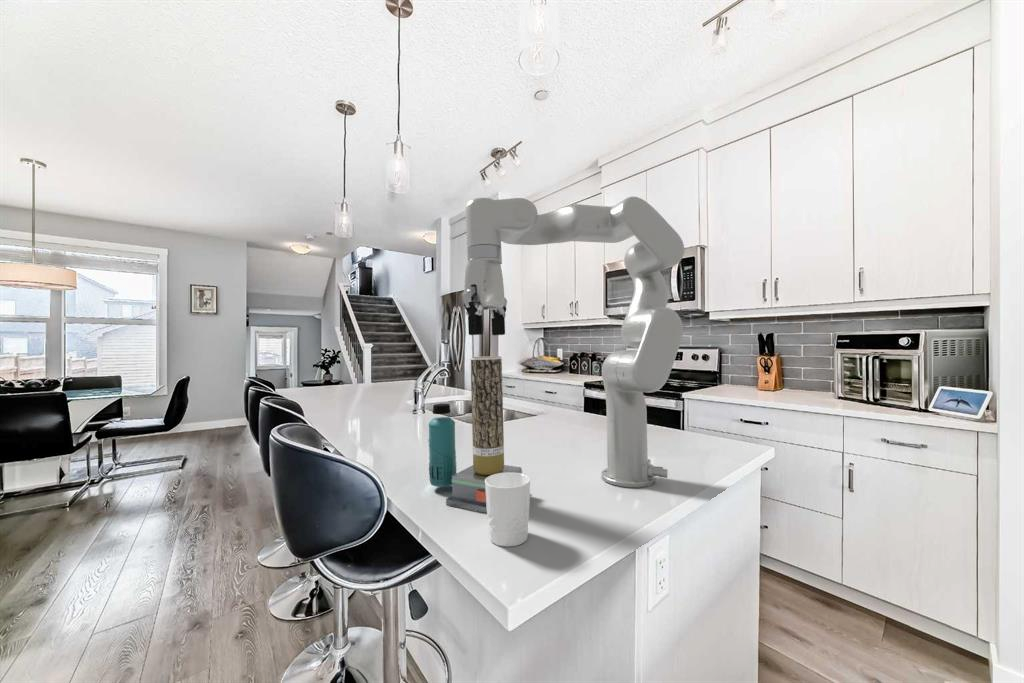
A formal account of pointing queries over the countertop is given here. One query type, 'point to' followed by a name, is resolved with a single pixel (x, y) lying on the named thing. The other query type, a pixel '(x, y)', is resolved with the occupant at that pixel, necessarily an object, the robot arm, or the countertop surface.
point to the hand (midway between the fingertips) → (487, 334)
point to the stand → (472, 488)
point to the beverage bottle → (442, 447)
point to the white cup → (508, 508)
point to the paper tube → (487, 415)
